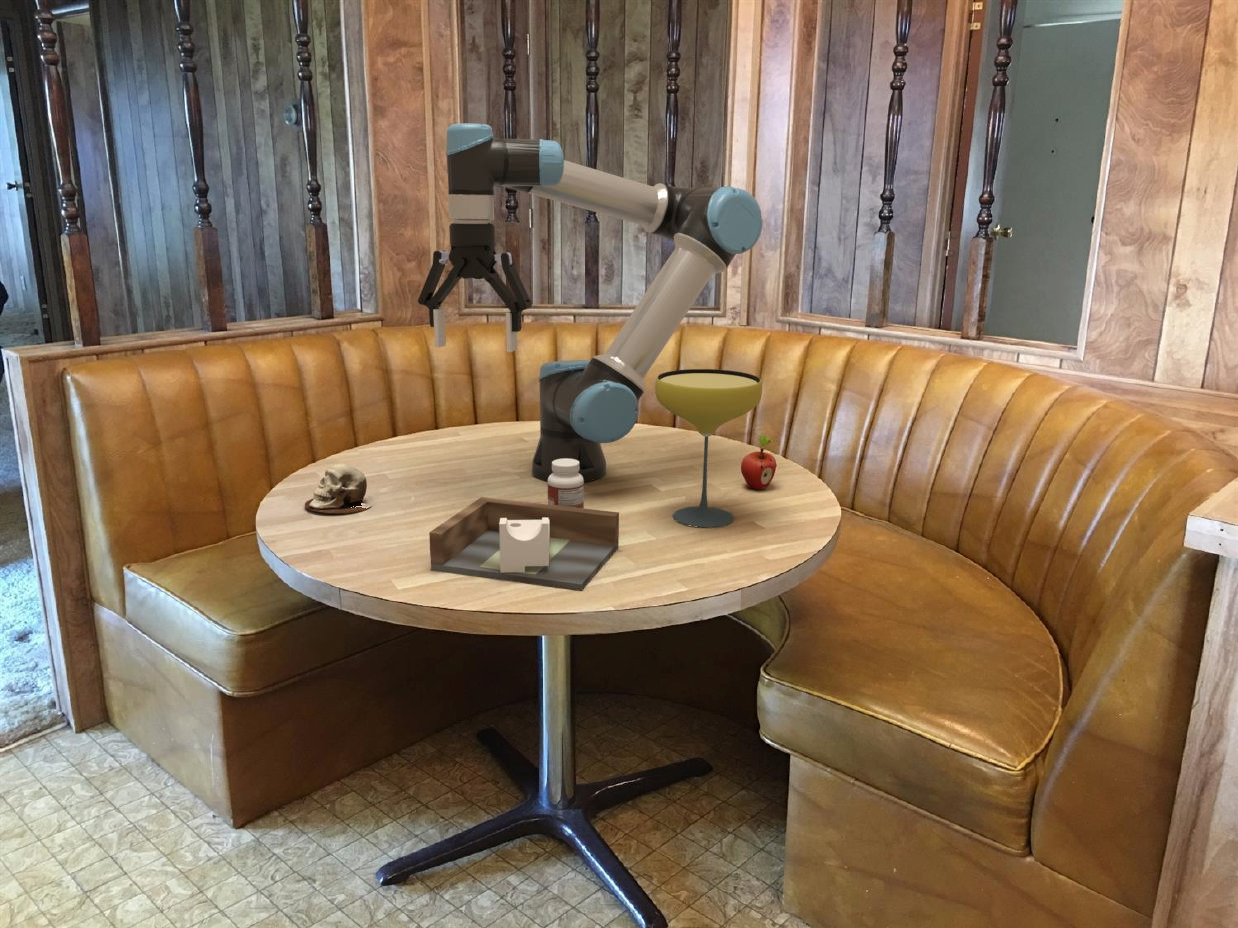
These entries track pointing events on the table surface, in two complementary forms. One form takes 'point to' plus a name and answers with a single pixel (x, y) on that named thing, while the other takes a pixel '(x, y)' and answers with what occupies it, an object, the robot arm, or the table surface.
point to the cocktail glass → (707, 419)
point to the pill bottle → (566, 484)
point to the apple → (759, 467)
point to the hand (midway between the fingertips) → (475, 348)
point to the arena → (573, 542)
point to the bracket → (523, 544)
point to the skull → (339, 491)
